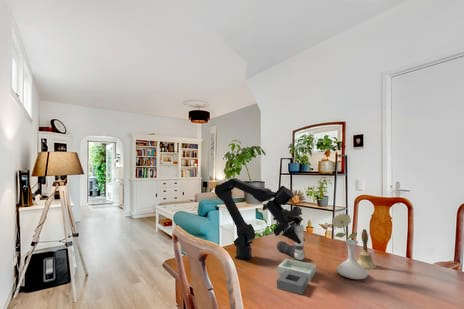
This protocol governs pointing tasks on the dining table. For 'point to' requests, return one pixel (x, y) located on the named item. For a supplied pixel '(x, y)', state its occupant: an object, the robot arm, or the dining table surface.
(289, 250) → the flashlight
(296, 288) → the socket block
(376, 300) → the dining table surface
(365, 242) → the hand bell
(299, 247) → the frosted bulb
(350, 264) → the flower in vase
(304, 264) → the parts tray
